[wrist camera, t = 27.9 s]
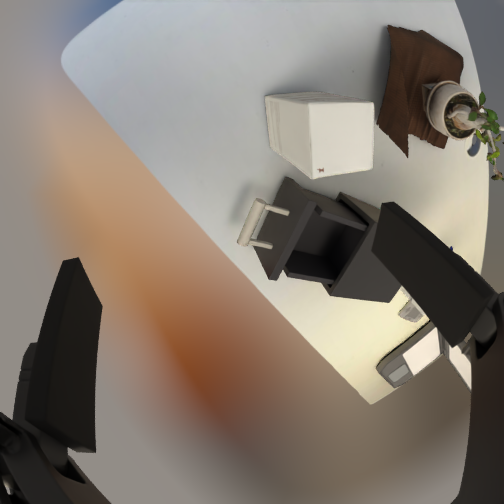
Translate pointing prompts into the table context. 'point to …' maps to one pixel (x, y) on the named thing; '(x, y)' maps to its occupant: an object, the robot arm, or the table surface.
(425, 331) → the grey document camera stand
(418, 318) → the grey l-shaped stand
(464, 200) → the table surface
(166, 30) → the table surface
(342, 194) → the dark drawer cabinet
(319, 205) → the drawer
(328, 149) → the white packaging box
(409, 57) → the potted plant
